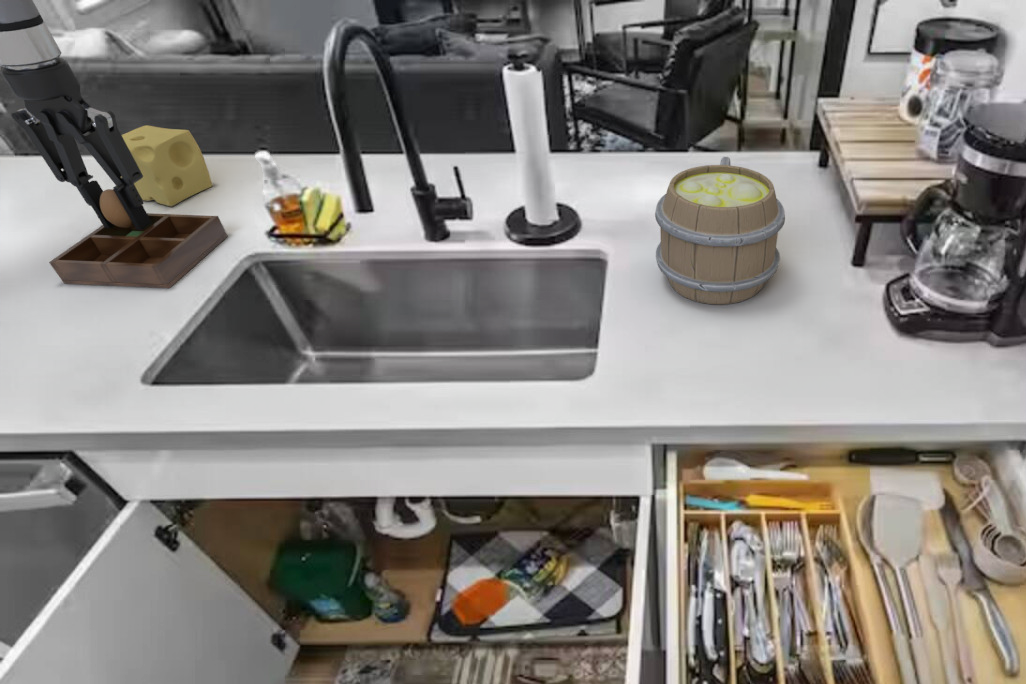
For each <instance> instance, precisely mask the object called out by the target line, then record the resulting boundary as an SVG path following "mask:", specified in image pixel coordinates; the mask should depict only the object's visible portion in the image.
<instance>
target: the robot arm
mask: <svg viewBox="0 0 1026 684" xmlns="http://www.w3.org/2000/svg"><path fill="white" fill-rule="evenodd" d="M54 38H55V37H54V36H53V35H52V33H51V31H50V29H49V27H48V26H47V23H46V21H45V20H44V18H43V17H42V14H41V12H40V11H39V10H38V8H37V6H36V4H35V2H34V0H0V74H1V75H2V77H3V78H4V80H5V82H6V83H7V85H8V86H9V88H10V90H11V92H12V93H13V94H14V96H15V97H16V98H18V99H20V100H23V104H24V107H22V108H19V109H18V110H15V111H14V112H12V113H11V115H10V116H11V118H12V119H13V120H14V121H15V122H16V123H17V124H18V125H19V126H20V127H21V128H22V129H23V130H24V132H25V133H26V134H27V136H28V137H29V139H30V140H31V141H32V144H33V145H34V147H35V148H36V151H38V153H39V154H40V156H41V157H42V159H43V161H44V162H45V164H46V165H47V167H48V168H49V169H50V171H51V173H52V175H54V177H55V179H56V180H57V181H59V182H61V183H64V182H67V183H70V184H71V185H72V186H73V187H76V189H77V192H79V194H80V195H81V197H82V199H83V201H84V202H85V203H86V205H88V206H89V207H91V208H92V210H93V212H94V213H95V214H96V216H97V218H98V219H99V221H100V222H101V224H102V225H103V226H104V227H105V228H109V229H110V228H111V227H113V226H114V224H112V223H111V222H109V221H108V220H107V219H106V218H105V217H104V215H103V213H102V211H101V208H100V196H101V194H102V192H103V191H104V190H103V189H102V187H101V185H100V184H99V182H98V180H91V179H93V178H94V175H93V174H89V172H88V169H87V167H86V164H85V162H84V160H83V159H84V158H83V157H82V155H81V152H80V149H79V146H78V144H80V145H83V147H85V149H86V150H87V151H88V152H89V154H90V155H91V156H92V158H93V159H94V160H95V162H97V164H98V165H99V166H100V168H101V169H102V170H103V171H104V172H105V174H106V175H107V176H108V177H109V179H110V180H111V181H112V183H113V184H114V186H113V187H112V189H113V190H114V192H115V194H116V195H117V197H118V199H119V200H120V202H121V204H122V206H123V207H124V209H125V211H126V212H127V214H128V216H129V217H130V219H131V221H132V222H133V224H134V226H135V228H136V229H137V230H142V229H143V228H145V227H146V226H147V225H149V224H150V223H151V222H152V221H151V220H150V218H149V216H148V214H147V213H148V212H147V211H146V209H145V207H144V206H143V205H144V204H145V203H144V200H143V199H142V198H141V196H140V195H139V192H138V191H137V189H136V187H135V185H134V183H136V182H137V181H139V180H140V179H142V178H143V175H142V173H141V171H140V169H139V167H138V165H137V163H136V162H135V160H134V158H133V156H132V154H131V152H130V150H129V148H128V147H127V145H126V143H125V141H124V139H123V137H122V135H123V134H122V133H121V131H120V130H119V128H118V124H117V119H116V115H115V113H114V112H113V111H112V110H109V109H107V110H105V111H101V110H99V109H96V108H93V107H92V106H91V104H90V103H89V102H88V101H87V100H86V99H85V98H84V97H83V95H82V94H81V84H80V82H79V80H78V78H77V77H76V75H75V73H74V72H73V69H72V68H71V66H70V64H69V62H68V61H67V60H66V59H64V58H62V57H61V55H62V51H61V49H60V47H59V46H58V45H59V44H57V42H56V39H54ZM77 143H78V144H77ZM121 176H122V178H121Z"/></svg>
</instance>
